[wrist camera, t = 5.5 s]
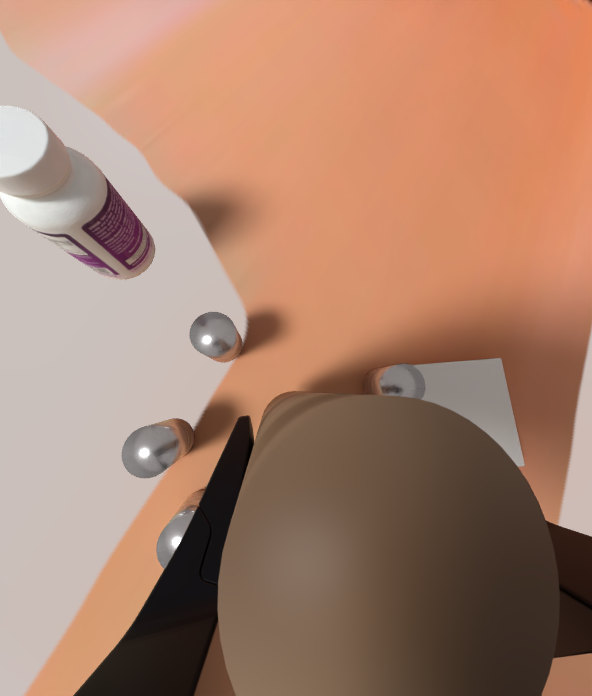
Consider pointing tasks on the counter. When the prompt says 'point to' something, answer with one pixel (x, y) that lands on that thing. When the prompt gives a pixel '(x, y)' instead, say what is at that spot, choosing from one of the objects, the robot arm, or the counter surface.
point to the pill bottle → (68, 198)
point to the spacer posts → (177, 435)
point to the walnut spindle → (384, 557)
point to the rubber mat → (476, 398)
